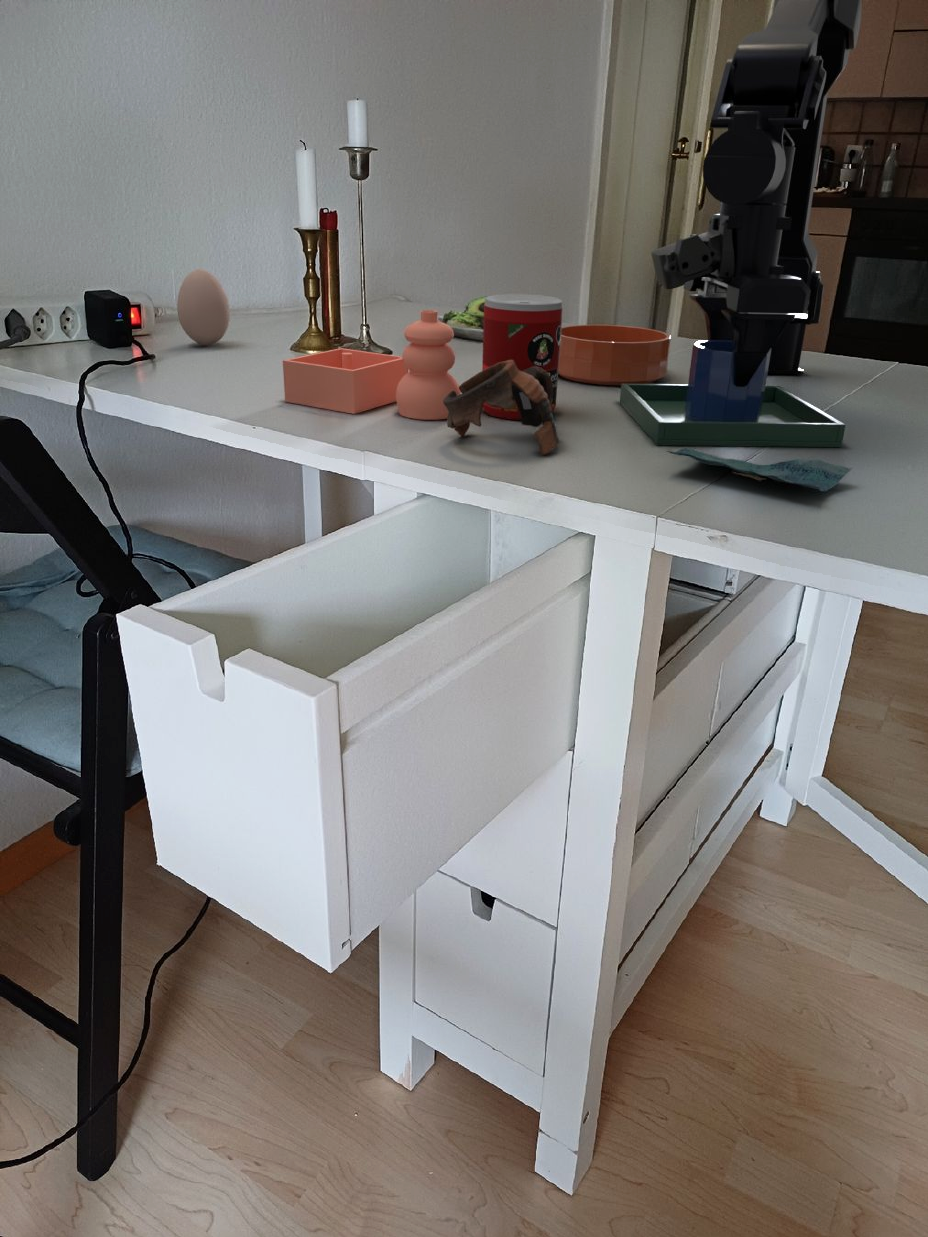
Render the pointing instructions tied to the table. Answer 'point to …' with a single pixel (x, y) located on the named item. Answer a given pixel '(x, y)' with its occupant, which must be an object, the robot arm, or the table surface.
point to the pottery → (379, 375)
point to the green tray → (778, 424)
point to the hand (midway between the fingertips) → (728, 378)
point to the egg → (203, 307)
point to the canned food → (522, 338)
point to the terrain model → (779, 470)
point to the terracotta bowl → (613, 354)
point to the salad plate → (467, 320)
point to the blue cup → (722, 385)
